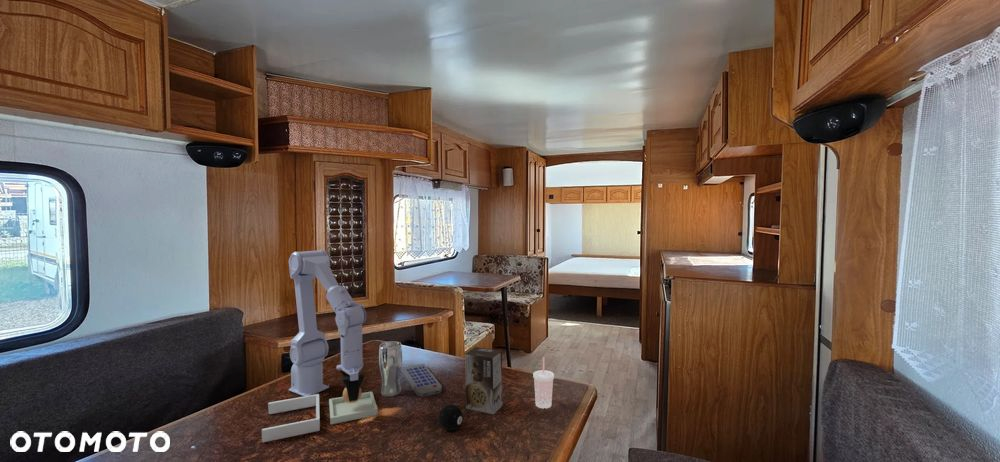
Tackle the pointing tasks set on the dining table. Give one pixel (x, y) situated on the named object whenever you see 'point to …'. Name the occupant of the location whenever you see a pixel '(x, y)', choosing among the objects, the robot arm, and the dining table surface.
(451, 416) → the billiard ball
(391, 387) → the beer glass
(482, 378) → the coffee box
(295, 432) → the white bent bar
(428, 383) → the remote control
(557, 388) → the dining table surface
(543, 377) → the beverage cup
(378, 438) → the dining table surface
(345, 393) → the ball
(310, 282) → the robot arm
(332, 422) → the tray
